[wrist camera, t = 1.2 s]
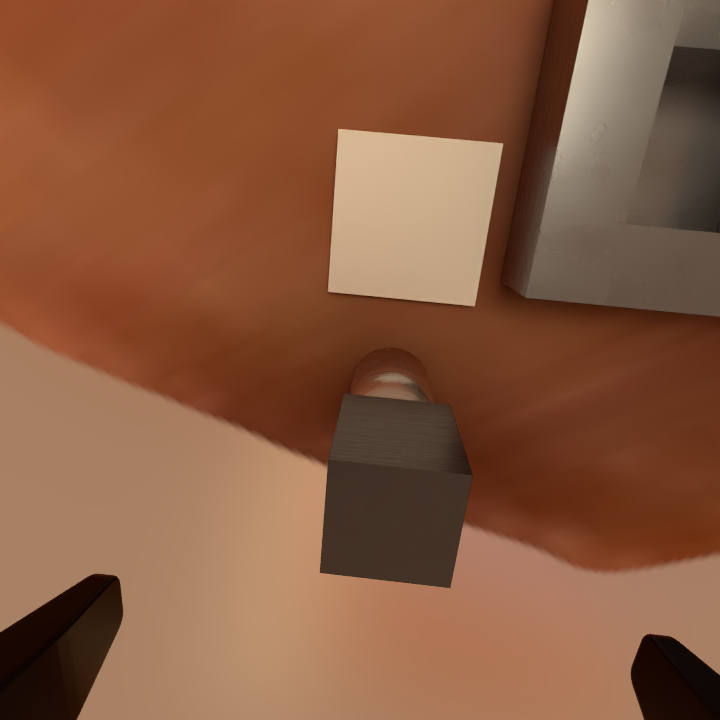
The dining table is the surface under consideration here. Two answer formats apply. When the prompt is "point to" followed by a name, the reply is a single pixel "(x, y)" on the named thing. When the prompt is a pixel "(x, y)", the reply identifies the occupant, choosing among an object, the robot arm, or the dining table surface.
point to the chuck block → (623, 160)
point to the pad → (411, 216)
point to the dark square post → (394, 478)
